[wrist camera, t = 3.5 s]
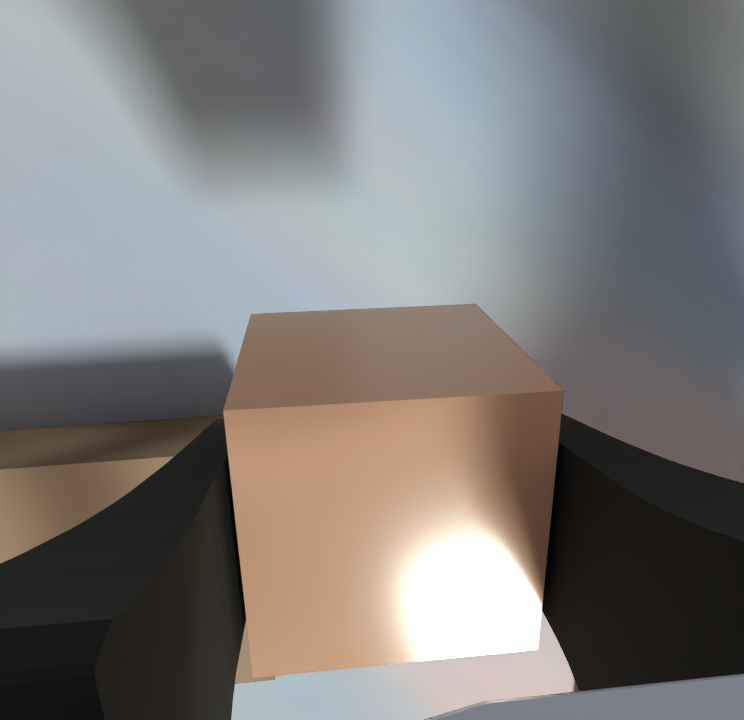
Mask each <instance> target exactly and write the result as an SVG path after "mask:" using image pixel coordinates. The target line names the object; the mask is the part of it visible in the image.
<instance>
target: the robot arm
mask: <svg viewBox="0 0 744 720" xmlns="http://www.w3.org/2000/svg"><path fill="white" fill-rule="evenodd" d="M542 611H543V613H544V615H545V617H546V619H547V620H548V622H549V624H550V626H551V628H552V630H553V632H554V634H555V636H556V638H557V640H558V642H559V644H560V646H561V648H562V650H563V652H564V655H565V657H566V659H567V661H568V663H569V666H570V668H571V671H572V673H573V676H574V679H575V681H576V684H577V686H578V689H579V691H578V692H569V693H560V694H550V695H541V696H532V697H522V698H513V699H504V700H494V701H485V702H480V703H477V704H474V705H470V706H467V707H464V708H461V709H457V710H454V711H451V712H447V713H444V714H441V715H438V716H434V717H431V718H428V719H425V720H744V483H741V482H737V481H733V480H730V479H726V478H723V477H719V476H716V475H713V474H710V473H707V472H703V471H700V470H697V469H694V468H691V467H688V466H685V465H682V464H679V463H676V462H673V461H670V460H667V459H665V458H662V457H660V456H657V455H655V454H652V453H650V452H647V451H645V450H642V449H639V448H637V447H634V446H632V445H630V444H627V443H625V442H623V441H620V440H618V439H616V438H613V437H611V436H609V435H607V434H604V433H602V432H600V431H598V430H596V429H594V428H591V427H589V426H587V425H585V424H583V423H581V422H578V421H576V420H574V419H572V418H570V417H568V416H566V415H563V414H561V422H560V432H559V442H558V452H557V463H556V473H555V483H554V493H553V503H552V513H551V523H550V533H549V543H548V553H547V563H546V573H545V584H544V594H543V604H542ZM245 623H246V612H245V603H244V594H243V585H242V576H241V567H240V558H239V549H238V540H237V531H236V522H235V513H234V504H233V495H232V486H231V477H230V468H229V459H228V450H227V441H226V432H225V423H224V419H217V420H215V421H214V422H212V423H211V424H210V425H209V426H208V427H207V428H206V429H204V430H203V431H202V432H201V433H200V434H199V435H198V436H197V437H196V438H195V439H193V440H192V441H191V442H190V443H189V444H188V445H187V446H186V447H184V448H183V449H182V450H181V451H180V452H179V453H178V454H176V455H175V456H174V457H173V458H172V459H171V460H170V461H168V462H167V463H166V464H165V465H164V466H162V467H161V468H160V469H159V470H157V471H156V472H155V473H153V474H152V475H151V476H150V477H148V478H147V479H146V480H144V481H143V482H142V483H140V484H139V485H138V486H137V487H135V488H134V489H133V490H131V491H130V492H129V493H127V494H126V495H124V496H123V497H122V498H120V499H119V500H117V501H116V502H114V503H113V504H111V505H110V506H108V507H107V508H105V509H103V510H102V511H100V512H98V513H97V514H95V515H94V516H92V517H90V518H89V519H87V520H85V521H84V522H82V523H80V524H79V525H77V526H75V527H73V528H71V529H69V530H68V531H66V532H64V533H62V534H60V535H58V536H56V537H54V538H52V539H50V540H48V541H46V542H44V543H42V544H40V545H38V546H36V547H34V548H32V549H30V550H28V551H26V552H24V553H22V554H20V555H18V556H16V557H14V558H12V559H9V560H7V561H5V562H2V563H0V720H231V713H232V701H233V692H234V685H235V678H236V671H237V665H238V660H239V655H240V650H241V644H242V639H243V634H244V628H245Z"/></svg>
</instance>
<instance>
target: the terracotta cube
mask: <svg viewBox="0 0 744 720" xmlns="http://www.w3.org/2000/svg"><path fill="white" fill-rule="evenodd" d="M563 392H564V391H563V390H562V389H561V388H560V387H559V386H558V385H557V384H556V383H555V382H554V381H553V380H552V379H551V378H550V377H549V376H548V375H547V374H546V373H545V372H544V371H543V370H542V369H541V368H540V367H539V366H538V365H537V364H536V363H535V362H534V361H533V360H532V359H531V358H530V357H529V356H528V355H527V354H526V353H525V352H524V351H523V350H522V349H521V348H520V347H519V346H518V345H517V344H516V343H515V342H514V341H513V340H512V339H511V338H510V337H509V336H508V335H507V334H506V333H505V332H504V331H503V330H502V329H501V328H500V327H499V326H498V325H497V324H496V323H495V322H494V321H493V320H492V319H491V318H490V317H489V316H488V315H487V314H486V313H485V312H484V311H483V310H482V309H480V308H479V307H478V306H477V305H476V304H462V305H440V306H418V307H396V308H373V309H351V310H329V311H306V312H284V313H262V314H251V316H250V319H249V323H248V326H247V330H246V333H245V337H244V340H243V343H242V347H241V350H240V354H239V357H238V361H237V364H236V368H235V371H234V375H233V378H232V382H231V385H230V389H229V392H228V395H227V399H226V402H225V406H224V409H223V414H224V423H225V432H226V441H227V450H228V459H229V468H230V477H231V486H232V495H233V504H234V513H235V522H236V531H237V540H238V549H239V558H240V567H241V576H242V585H243V594H244V603H245V612H246V621H247V629H248V638H249V647H250V656H251V665H252V674H253V678H257V677H267V676H277V675H287V674H297V673H307V672H318V671H328V670H338V669H348V668H358V667H368V666H378V665H389V664H399V663H409V662H419V661H429V660H439V659H449V658H459V657H470V656H480V655H490V654H500V653H510V652H520V651H530V650H538V644H539V634H540V624H541V614H542V604H543V594H544V584H545V573H546V563H547V553H548V543H549V533H550V523H551V513H552V503H553V493H554V483H555V473H556V463H557V452H558V442H559V432H560V422H561V412H562V402H563Z"/></svg>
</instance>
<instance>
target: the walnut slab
mask: <svg viewBox="0 0 744 720" xmlns="http://www.w3.org/2000/svg"><path fill="white" fill-rule="evenodd" d="M217 419H224V415H218V416H204V417H190V418H176V419H161V420H147V421H133V422H119V423H105V424H91V425H77V426H63V427H48V428H34V429H20V430H6V431H0V563H2V562H5V561H7V560H9V559H12V558H14V557H16V556H18V555H20V554H22V553H24V552H26V551H28V550H30V549H32V548H34V547H36V546H38V545H40V544H42V543H44V542H46V541H48V540H50V539H52V538H54V537H56V536H58V535H60V534H62V533H64V532H66V531H68V530H69V529H71V528H73V527H75V526H77V525H79V524H80V523H82V522H84V521H85V520H87V519H89V518H90V517H92V516H94V515H95V514H97V513H98V512H100V511H102V510H103V509H105V508H107V507H108V506H110V505H111V504H113V503H114V502H116V501H117V500H119V499H120V498H122V497H123V496H124V495H126V494H127V493H129V492H130V491H131V490H133V489H134V488H135V487H137V486H138V485H139V484H140V483H142V482H143V481H144V480H146V479H147V478H148V477H150V476H151V475H152V474H153V473H155V472H156V471H157V470H159V469H160V468H161V467H162V466H164V465H165V464H166V463H167V462H168V461H170V460H171V459H172V458H173V457H174V456H175V455H176V454H178V453H179V452H180V451H181V450H182V449H183V448H184V447H186V446H187V445H188V444H189V443H190V442H191V441H192V440H193V439H195V438H196V437H197V436H198V435H199V434H200V433H201V432H202V431H203V430H204V429H206V428H207V427H208V426H209V425H210V424H211V423H212V422H214V421H215V420H217ZM266 680H275V676H267V677H257V678H253V674H252V665H251V656H250V647H249V638H248V629H247V621H246V623H245V628H244V634H243V639H242V644H241V650H240V655H239V660H238V665H237V671H236V678H235V684H238V683H247V682H256V681H266Z"/></svg>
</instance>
